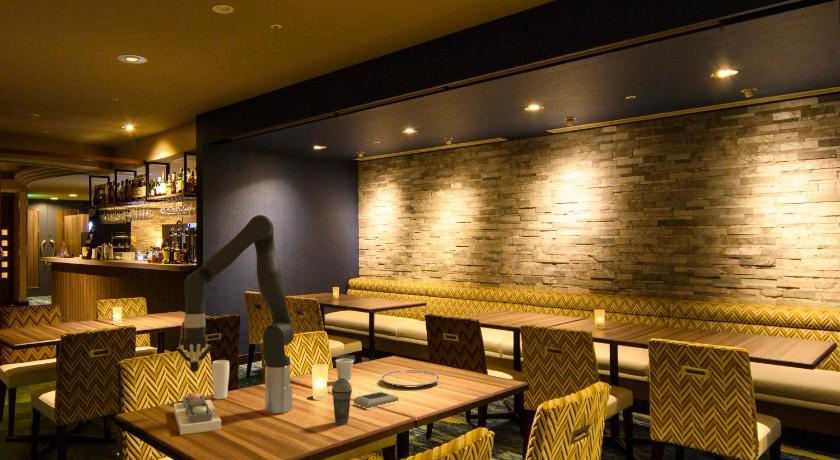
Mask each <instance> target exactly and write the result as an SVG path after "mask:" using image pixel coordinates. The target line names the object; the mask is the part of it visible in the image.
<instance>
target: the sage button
mask: <svg viewBox="0 0 840 460" xmlns="http://www.w3.org/2000/svg"><path fill="white" fill-rule="evenodd" d="M205 413H207V407H206V406H196V407H193V415H197V414H205Z"/></svg>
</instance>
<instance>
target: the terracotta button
mask: <svg viewBox="0 0 840 460" xmlns="http://www.w3.org/2000/svg"><path fill="white" fill-rule="evenodd" d="M200 395H201V393H200V392H191V393H188V394H187V395H186V397H187V401H190V400H194V399H200Z"/></svg>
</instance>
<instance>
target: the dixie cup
mask: <svg viewBox="0 0 840 460" xmlns="http://www.w3.org/2000/svg"><path fill="white" fill-rule="evenodd" d="M354 361H355V360H354V359H352V358H338V359H335V366H336V374H337V380H338V379H340V377H339V366H340V371H341V379H346V380H350V379H351V380H352V375H353V373H352V372H353V367H354V366H353V365H354Z"/></svg>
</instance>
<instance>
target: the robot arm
mask: <svg viewBox="0 0 840 460" xmlns="http://www.w3.org/2000/svg"><path fill="white" fill-rule="evenodd" d="M274 231H275V230H274V224H273V222H272V221H271V219H270V218H269V217H267V216H266V215H263V214H258V215H255V216H254V217H252V218H251V219H250V220H248V222H247V223H246V225H245V226H244V227H243V228H242V229H241V231H239V232H238V233H237V235H235V237H233V238H232V239H230V241H229V242H228V243H226V244H225V245H223V247H221V248H220V249H219V250H218V251H217V252H215V253H214V254H212V255H211V256H210V257H209V258H207V260H205V261H204V262H203V264H202V265H200V267H198V268H196V269H195V270H193V272H192V273H190V274H188V275H187V276H186V277H185V280H184V295H185V305H184V306H185V307H184V308H185V310H184V319H183V321H184V322H183V341H182V344H181V345H180V346H178V347H177V348H176V351H177V352H178V353H179V355H180V356H181V357H182V358H183V359H184V360H185V361H186V362H189V369H190V371H191V372H192V373H195V372H197V371H198V370H199V362H200V361H203V360H204V359H205V358H206V357H207V355H208V354H209V353H210V352H211V350H212V348H213V346H212V345H211V344H208V342H207V341H208V340H206V326H207V325H206V322H207V321H206V302H205V286H207V285H208V284H209V283H210V282H212V281H213V280H214V279H215V277H218V275H220V274H222V272H224V271H225V270H227V268H228V267H230V266H231V265H232V264H233V263H234V262H235V261H236V260H237V259H238V258H239V256H240V255H241V254H243V253H244V252H245V250H247V249H248V248H249V247H251V245H254V248H255V252H256V278H257V285H258V289H259V293H260V295H261V297H262V298H263V300H264V302H265V303H266V305H267V307H268V309H269V310H270V315H271V318H272V319H271V320H272V324H269V325H267V326H266V327H265V329H263V333H262V353H263V355H262V356H263V360H264V362H265V369H264V370H265V371H264V373H265V375H264V379H265V380H264V384H265V385H264V386H265V387H264V412H265V413H267V414H276V415H277V414H285V413H288V412H289V411H291V410H293V384H292V383H291V359H290V357H289V355H286V352H285V351H286V350H285V349H286V348H285V347H286V346H287V345H290V344H291V343H292V341H293V340H294V336H295V333H294V327H293V324H292V319H291V316H290V312H289V309H288V303H287V298H286V293H285V288H284V282H283V275H282V271H281V265H280V263H279V259H278V256H277V252H276V247H275V246H276V245H275V239H274V237H275V236H274V235H275V234H274ZM184 348H185V349H184ZM203 349H204V350H203ZM185 350H186V351H187V353H188V354H189V356H188V355H187V354H186V353H185V352H184V351H185ZM201 351H203V352H202V353H201Z"/></svg>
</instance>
